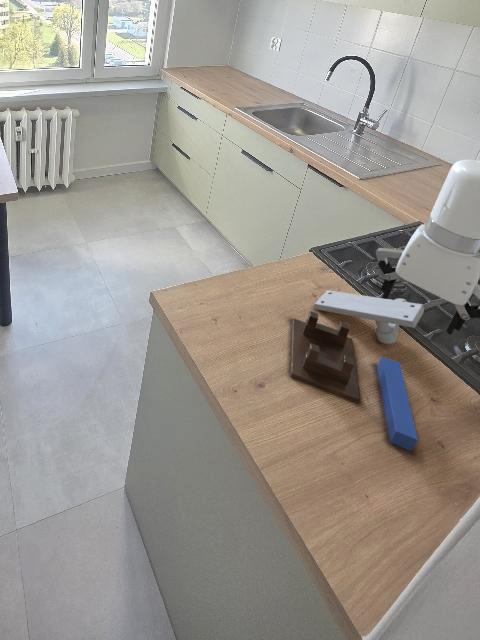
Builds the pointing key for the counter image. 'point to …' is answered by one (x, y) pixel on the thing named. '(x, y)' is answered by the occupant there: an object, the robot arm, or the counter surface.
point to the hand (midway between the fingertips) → (416, 311)
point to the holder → (324, 357)
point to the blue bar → (396, 404)
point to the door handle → (374, 311)
